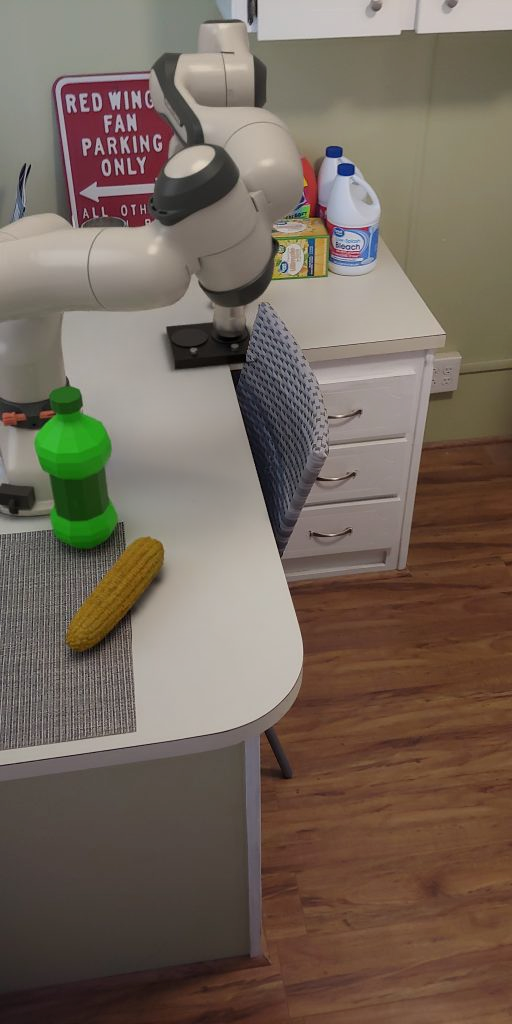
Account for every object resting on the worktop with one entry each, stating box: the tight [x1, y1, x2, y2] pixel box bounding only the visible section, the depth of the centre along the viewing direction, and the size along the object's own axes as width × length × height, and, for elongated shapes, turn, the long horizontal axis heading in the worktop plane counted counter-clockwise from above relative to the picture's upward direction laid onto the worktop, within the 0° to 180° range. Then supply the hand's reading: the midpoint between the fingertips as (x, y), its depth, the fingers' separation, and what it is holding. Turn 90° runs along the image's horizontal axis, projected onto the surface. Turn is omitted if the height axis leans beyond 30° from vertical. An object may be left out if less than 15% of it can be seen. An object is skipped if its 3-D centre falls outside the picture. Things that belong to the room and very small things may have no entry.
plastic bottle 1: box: [34, 386, 119, 550], centre depth 131 cm, size 10×10×25 cm
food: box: [64, 535, 166, 653], centre depth 125 cm, size 21×6×6 cm, turn 157°
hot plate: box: [165, 321, 252, 370], centre depth 183 cm, size 14×16×3 cm
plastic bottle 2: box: [212, 304, 247, 337], centre depth 178 cm, size 6×7×20 cm
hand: (226, 202), depth 168 cm, fingers open, 8 cm apart
